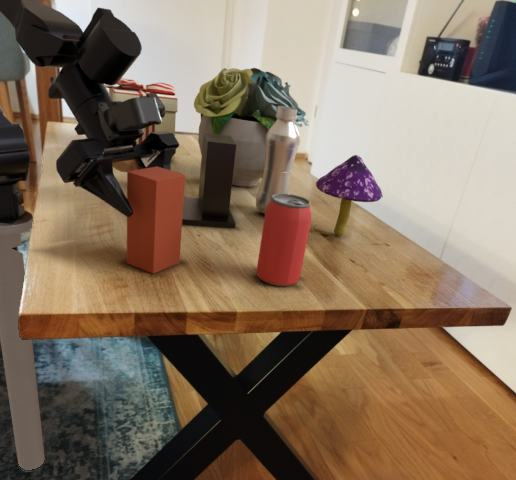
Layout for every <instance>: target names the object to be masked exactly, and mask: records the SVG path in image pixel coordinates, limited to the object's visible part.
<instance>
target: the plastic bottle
mask: <svg viewBox="0 0 516 480" xmlns="http://www.w3.org/2000/svg"><path fill="white" fill-rule="evenodd" d="M296 115H297V109H295V108H291V107H285V106H278V107H277V114H276V117H277V120H276V122H275V123H274V124H273V125H272V126H271V127H270V129H269V130H268V132H267V134H266V140H265V141H266V142H265V163H264V164H265V166H264V172H263V176H262V178H261V181H260V185H259V189H258V191H257V193H256V198H255V206H256V209H257V212H259V213H262V214H264V215H265V212H266V209H267V206H268V204H269V203H270V201H271V197H272V196H273V195H274V194H290V186H291V176H292V172H293V171H292V170H293V167H294V162H295V159H296V156H297V153H298V150H299V147H300V143H301V136H300V133H299V130H298V127H297V125H295V124H294V121H295V120H296V119H297V117H296Z"/></svg>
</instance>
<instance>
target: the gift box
mask: <svg viewBox="0 0 516 480" xmlns="http://www.w3.org/2000/svg"><path fill="white" fill-rule="evenodd" d="M104 86H105V87H106V89H108V92H109V94H110V96H111V97H112V99H113V101H121V102H123V101H126V100H128V99H131V98H136V97H141V96H146V94H148V93H156V94H157V96H158V97H159V98H160V100H161V101H162V103H163V104H164V106H165V116H164V117H163V118H161V120H162V123H161V124H159V125H156V124H154V125H151V126H149V127H146V128H143V129H142V130H143V131H144V134H143V135H142V136H141V138H138V139H137V140H136V142H137V144H141V143H142V142H143V140H144V139H145V138H146V137H147V136H148V135H149V134H150V133H151V132H162V131H167V132H171V133H173V134H174V136H175V137H176V120H177V119H176V118H177V117H176V115H177V113H178V106H179V105H178V104H179V102H178V101H179V100H178V97H176V91H175V87H174V86H172V85H171V84H169V83H165V82H154V83H150V84H142V83H140V82H139V81H138V80H134V79H130V78H124V77H122V78H121V79H120V80H119V82H118V83H117V84H116V85H112V86H111V85H106V84H104ZM174 161H175V154H174V155H173V156H172V159H171V162H174Z"/></svg>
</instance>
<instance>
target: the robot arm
mask: <svg viewBox="0 0 516 480" xmlns="http://www.w3.org/2000/svg"><path fill="white" fill-rule="evenodd" d="M0 13H1V15H2V16H3V17H4V18H5V19H7V21H8V22H9V23H10V24H11V26H12V27H13V29H14V36H15V41H16V42H17V44H18V45H19V47H20V48H21V50H22V51H23V53H24V54H25V55H26V56H27V58H28V59H29V60H30V62H31V63H32V64H33V65H34V66H36V67H39V68H56V69H60V70H59V72H58V74H57V75H56V76H50V78H49V82H50V84H49V87H48V91H47V96H48V98H49V99H52V100H57V99H58V100H63V101H64V102H65V104H66V105H67V107H68V109H69V110H70V112H71V113H72V115H73V116H74V119H75V120H76V122H77V125H76V126H75V127H74V131H75V133H76V134H77V136H83V135H84V136H85V137H86V138H79V139H72V140H71V141H70V143H68V145H67V147H65V149H64V150H63V151H62V152H61V154H60V155H59V157H58V158H57V159H56V162H55V170H56V172H57V174H58V175H59V177H60V179H61V180H62V182H63V183H64V184H68V183H72V184H73V186H74V187H75V188H81V189H83V190H85V191H87V192H88V193H90V194H91V195H93V196H95V197H96V198H98V199H100V200H102V201H103V202H104V203H106V204H108V205H109V206H110V207H112V208H113V209H114V210H116V211H117V212H118V213H120V214H121V215H123V216H125V217H126V218H127V217H130V216H131V215H133V210H132V208H131V206H130V203H129V201H128V200H127V195H125V192H124V191H123V188H122V187H121V185H120V184H119V182H118V180H117V178H116V176H115V174H114V167H113V164H112V163H114V162H121V161H127V160H134V159H135V161H136V163H137V165H138V166H140V167H141V168H143V169H145V168H151V167H157V166H158V167H161V168H164V169H167V170H171V171H172V166H171V163H172V161H171V159H172V156H173V155H174V156H175V154H176V152H177V149H178V148H180V143H179V141H178V139H177V137H176V135H175V136H174V134H173V133H171V132H167V131H162V132H151V133H150V134H149V135H148V136H147V137H146V138H145V139H144V140H143V142H142V143H141V144H137V142H136V140H137V139H138V138H141V136H142V135H143V134H144V131H143V130H142V129H143V128H146V127H149V126H151V125H154V124H156V125H159V124H161V123H162V120H161V118H163V117H164V116H165V106H164V104H163V103H162V101H161V100H160V98H159V97H158V96H157V94H156V93H148V94H146V96H141V97H136V98H131V99H128V100H126V101H123V102H121V101H113V99H112V97H111V96H110V94H109V90H108V88H106V87H105V86H104V85H111V86H112V85H114V86H117V85H118V84H117V83H118V82H119V80H120V79H121V78H124V75H125V74H126V73H127V72H128V71H129V69H130V68H131V67H132V65H134V63H135V61H136V60H137V59H138V58H139V56H140V55H141V54H142V51H143V47H142V43H141V40H140V39H139V36H138V35H137V33H136V32H135V31H133V30H132V29H131V28H130V27H129V26H128V25H127V24H126V22H125V23H124V22H123V21H122V20H121V19H119V18H118V17H116V16H115V15H114V14H113V13H114V12H113V11H112V10H111V9H109V8H103V7H97V8H96V9H95V11H94V13H93V14H92V17H91V20H90V21H89V23H88V24H87V26H86V27H85V28H84V30H83V29H82V28H81V26H79V25H78V23H76V22H75V21H74V20H73V19H71V18H69V17H68V16H67V15H65V14H64V13H62V12H61V11H59V10H57V9H54V8H53V7H51V6H48V5H47V4H45V3H43V2H42V1H40V0H0ZM30 150H31V148H30V146H29V145H28V142H27V140H26V137H25V132H24V129H23V127H22V126H21V125H20V123H12V122H11V121H10V120H9V119H8V118H7V117H6V116H5V114H4V111H3V109H2V106H1V105H0V223H7V224H13V223H15V222H16V221H17V220H18V219H20V218H21V217H22V216H23V215H25V214H26V211H27V210H26V208H25V206H24V205H23V204H24V203H25V202H24V192H23V190H20V182H26V181H28V174H29V168H30V163H31V155H30V152H29V151H30ZM25 210H26V211H25Z"/></svg>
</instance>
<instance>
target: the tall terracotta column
mask: <svg viewBox="0 0 516 480" xmlns="http://www.w3.org/2000/svg"><path fill="white" fill-rule="evenodd" d="M126 173H127V175H126V176H127V177H126V198H127V200H128V201H129V203H130V206H131V208H132V210H133V215H131V216H130V217H126V263H127V264H128V265H131V266H133V267H135V268H138V269H140V270H143V271H146V272H148V273H149V274H150V273H151V274H152V275H153V274H156V273H158V272H161V271H163V270H166V269H168V268H171V267H173V266H175V265H178V264H180V262H181V246H182V231H183V230H182V229H183V225H182V216H183V201H184V197H185V184H186V175H185V174H184V173H180V172H177V171H174V170H172V169H171V170H167V169H164V168H161V167H158V166H157V167H151V168H145V169H140V170H134V171H128V172H126Z"/></svg>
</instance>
